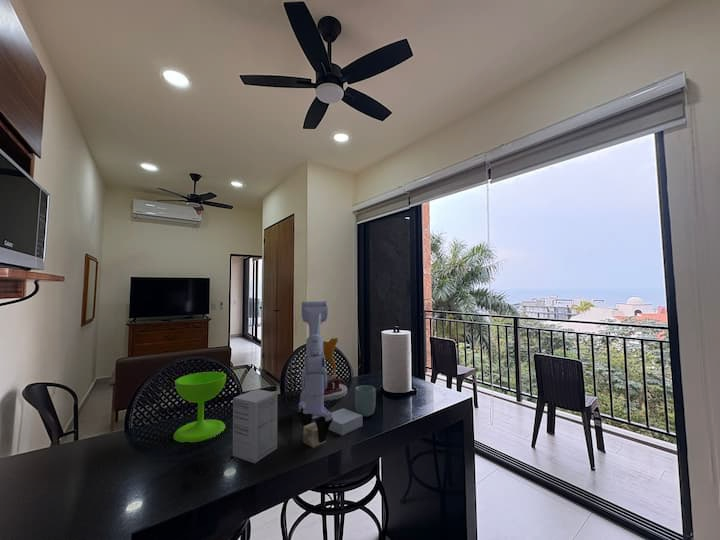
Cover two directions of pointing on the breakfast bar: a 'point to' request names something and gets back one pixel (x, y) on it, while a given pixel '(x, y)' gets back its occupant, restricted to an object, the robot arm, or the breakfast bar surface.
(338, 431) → the grey base block
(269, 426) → the supplement box
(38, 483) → the breakfast bar surface
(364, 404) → the cup
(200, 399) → the wineglass
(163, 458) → the breakfast bar surface
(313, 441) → the maple cube
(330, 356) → the gramophone
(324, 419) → the robot arm
